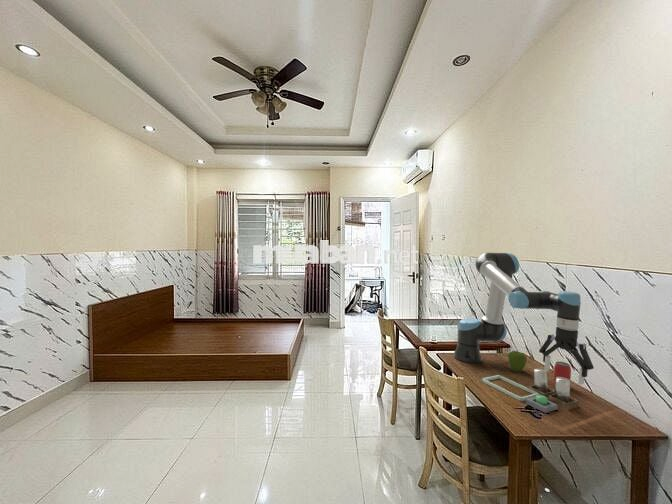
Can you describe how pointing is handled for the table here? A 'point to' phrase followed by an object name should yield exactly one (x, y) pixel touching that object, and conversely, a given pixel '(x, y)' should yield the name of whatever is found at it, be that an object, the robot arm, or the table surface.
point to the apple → (517, 361)
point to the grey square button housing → (545, 409)
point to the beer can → (562, 371)
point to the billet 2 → (562, 389)
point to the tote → (486, 380)
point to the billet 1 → (540, 380)
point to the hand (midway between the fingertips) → (563, 376)
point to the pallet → (551, 397)
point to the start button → (541, 399)
